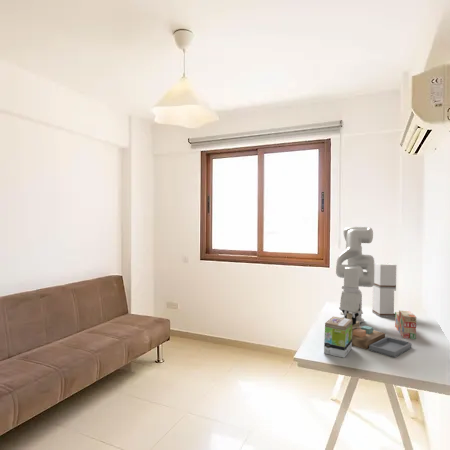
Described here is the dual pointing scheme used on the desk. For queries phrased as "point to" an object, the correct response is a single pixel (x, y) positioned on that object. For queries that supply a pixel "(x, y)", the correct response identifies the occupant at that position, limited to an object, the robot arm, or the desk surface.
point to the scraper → (349, 316)
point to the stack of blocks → (406, 324)
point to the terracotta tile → (359, 332)
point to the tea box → (338, 336)
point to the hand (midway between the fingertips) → (350, 323)
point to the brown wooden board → (366, 339)
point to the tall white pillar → (384, 290)
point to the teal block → (367, 329)
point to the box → (390, 346)
